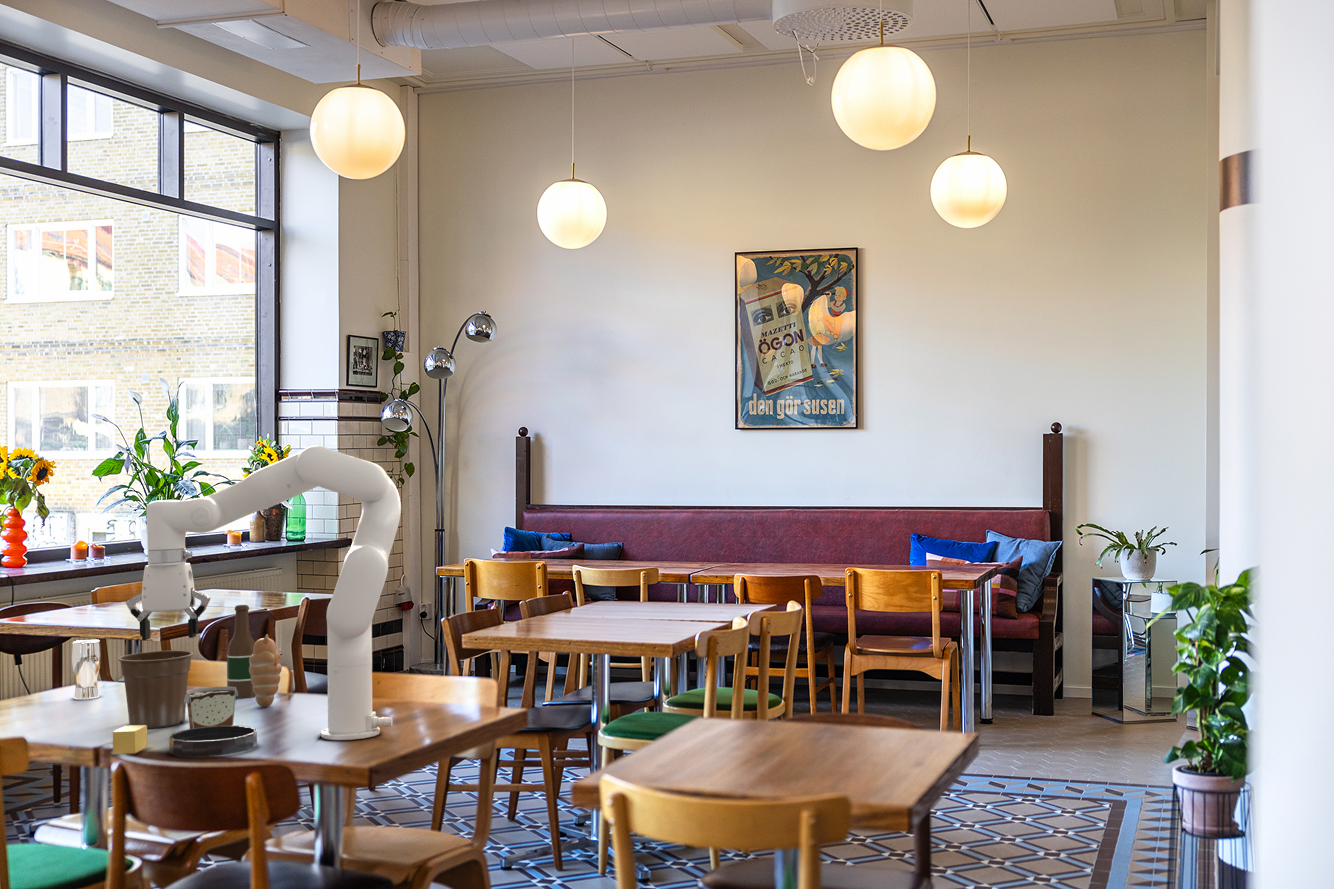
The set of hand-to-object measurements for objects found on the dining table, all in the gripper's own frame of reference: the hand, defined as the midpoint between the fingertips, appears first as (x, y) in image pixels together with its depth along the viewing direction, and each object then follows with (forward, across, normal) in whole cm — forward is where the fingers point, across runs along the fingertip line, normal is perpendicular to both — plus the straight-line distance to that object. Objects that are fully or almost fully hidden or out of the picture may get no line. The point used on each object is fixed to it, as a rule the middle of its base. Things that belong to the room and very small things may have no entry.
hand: (169, 638), depth 271 cm
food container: (+23, -3, -13) cm, 27 cm away
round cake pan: (+23, -10, +5) cm, 26 cm away
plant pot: (+23, +13, -28) cm, 38 cm away
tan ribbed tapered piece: (+24, -8, -48) cm, 54 cm away
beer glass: (+22, +45, -72) cm, 88 cm away
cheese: (+23, +7, +5) cm, 24 cm away
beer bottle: (+23, +3, -67) cm, 71 cm away
